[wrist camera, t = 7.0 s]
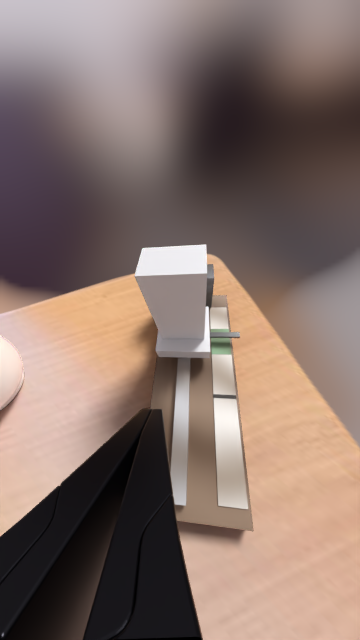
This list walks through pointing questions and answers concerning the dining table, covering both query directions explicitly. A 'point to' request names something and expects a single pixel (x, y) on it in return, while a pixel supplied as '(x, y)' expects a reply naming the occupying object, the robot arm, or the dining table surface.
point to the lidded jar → (9, 372)
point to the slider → (178, 299)
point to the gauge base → (205, 428)
